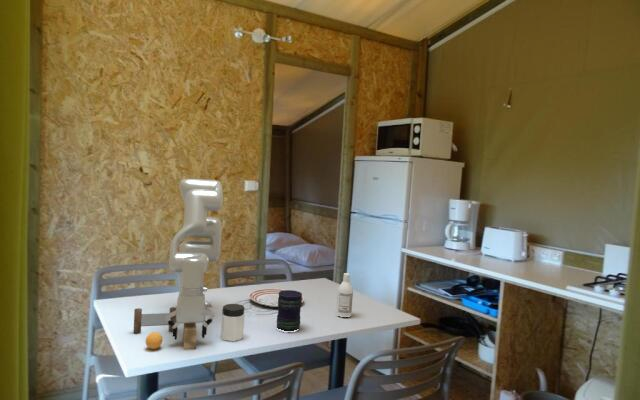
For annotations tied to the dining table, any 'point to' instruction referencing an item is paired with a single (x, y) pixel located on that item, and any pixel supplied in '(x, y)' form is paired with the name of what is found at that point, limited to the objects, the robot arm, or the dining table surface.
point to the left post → (137, 320)
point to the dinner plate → (265, 292)
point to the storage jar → (289, 310)
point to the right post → (172, 318)
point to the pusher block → (189, 336)
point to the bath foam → (345, 297)
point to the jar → (232, 322)
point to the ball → (153, 340)
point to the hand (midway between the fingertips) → (189, 337)
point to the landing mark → (154, 319)
